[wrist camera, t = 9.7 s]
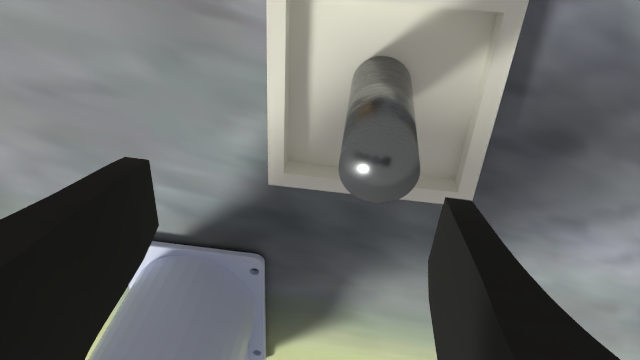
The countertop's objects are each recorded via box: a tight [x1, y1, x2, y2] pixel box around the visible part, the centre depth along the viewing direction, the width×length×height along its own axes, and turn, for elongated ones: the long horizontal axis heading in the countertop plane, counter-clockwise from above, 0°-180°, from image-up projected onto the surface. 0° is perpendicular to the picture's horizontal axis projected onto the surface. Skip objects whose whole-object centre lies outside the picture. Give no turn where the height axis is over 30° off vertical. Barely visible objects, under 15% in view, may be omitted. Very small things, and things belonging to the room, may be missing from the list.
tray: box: [267, 0, 529, 204], centre depth 20 cm, size 9×9×2 cm
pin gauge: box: [338, 56, 420, 203], centre depth 17 cm, size 2×2×6 cm
